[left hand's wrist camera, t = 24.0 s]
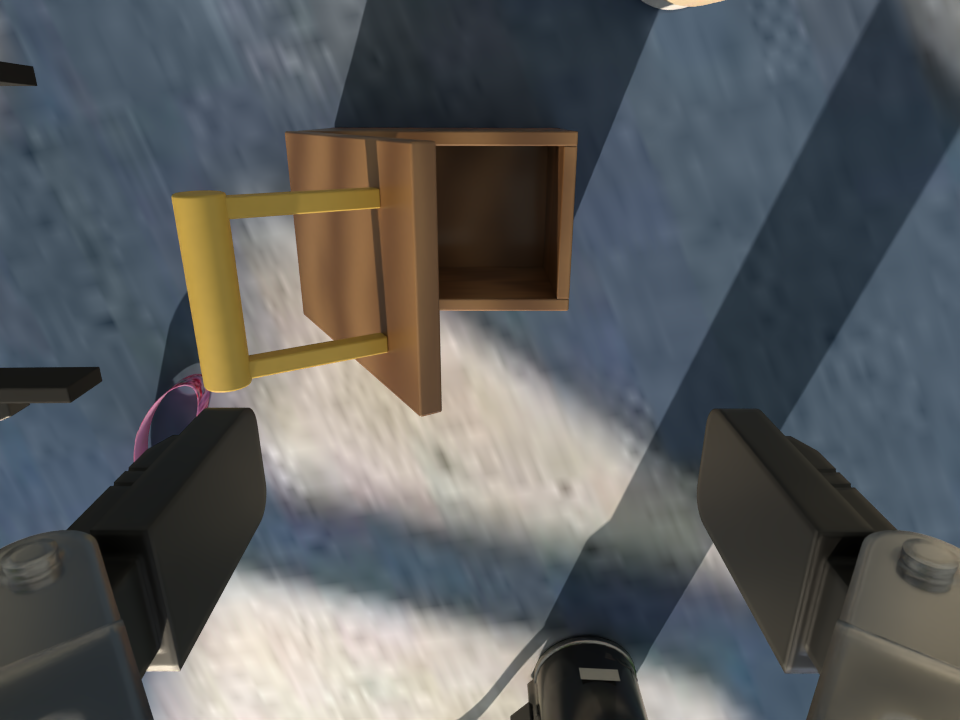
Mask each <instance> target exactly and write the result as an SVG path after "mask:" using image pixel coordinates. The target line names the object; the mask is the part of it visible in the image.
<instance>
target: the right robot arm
mask: <svg viewBox="0 0 960 720" xmlns="http://www.w3.org/2000/svg"><path fill="white" fill-rule="evenodd" d="M0 86H37V82H36V78H35V73H34V69H33V67H32V66H26V65H19V64H13V63H6V62H0ZM100 382H102V377H101V373H100V368H99V367H40V368H0V420H4V419H6V418H9V417H11V416H13V415H14V414H16V413H17V412H19V411H21V410H22V409H24V408H25V407H27V406H29V405H30V403H71V402H72V401H74V400H75V399H77V398H78V397H80V396H81V395H83V394H84V393H86V392H87V391H88V390H90V389H91V388H93V387H94V386H96V385H97V384H99V383H100Z"/></svg>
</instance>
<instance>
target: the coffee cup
mask: <svg viewBox="0 0 960 720" xmlns="http://www.w3.org/2000/svg"><path fill="white" fill-rule="evenodd" d="M641 1H643V2H644V3H646V4H648V5H650V6H652V7H655V8H659V9H665V10H675V9H681V8H685V7H689V6H690V7H692V6H701V5H706V4H710V3H715V2H719V1H723V0H641Z"/></svg>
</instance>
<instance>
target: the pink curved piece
mask: <svg viewBox="0 0 960 720" xmlns="http://www.w3.org/2000/svg"><path fill="white" fill-rule="evenodd" d="M180 386H189V387H192V388H193V389H194V390H195V392H196V394H197V399H198V408H197V415H198V414H199V413H200V412H201V411H202V410H203V409H205V408H208V403H209V395H210V391H208V390H207V389H206V388H205V387H204V383H203V378H202V375H201V374H193V375H190V376H187V377H185V378H183V379H182V380H180V381H179V382H178V383H176V384H175V385H174V386H173V387H172V388H171V389H169V390H168V391H167V392H166V393H165V394H164V395H163V396H161V397H160V398H159V399H158V400H157V401H156V402H155V404H154V405H153V406H152V407H151V409H150V410H149V411H148V413H147V414H146V416H145V418H144V420H143V422H142V424H141V426H140V428H139V431H138V433H137V435H136V439H135V448H134V462H135V461H136V460H137V459H138V458H139V457H140V456H141V455H142V454H143V453H144V452H145V451H146V450H147V449H148V434H149V429H150V425H151V421H152V418H153V416H154V413H155V411H156V409H157V407H158V406H159V404H160V402H161V401H162V399H163V398H164V397H165V395H166V394H167V393H168V392H169V391H171V390H172V389H175V388H177V387H180ZM196 417H197V416H196Z"/></svg>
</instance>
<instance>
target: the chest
mask: <svg viewBox="0 0 960 720" xmlns="http://www.w3.org/2000/svg"><path fill="white" fill-rule="evenodd" d="M303 131H306V132H320V133H334V134H347V135H361V136H375V137H388V138H402V139H416V140H430V141H435V143H436V180H437V225H438V269H439V310H508V311H567V310H568V308H569V299H568V298H569V290H570V272H571V253H572V235H573V217H574V199H575V181H576V162H577V144H578V132H577V131H571V130H565V129H560V128H327V129H315V130H303Z"/></svg>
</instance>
